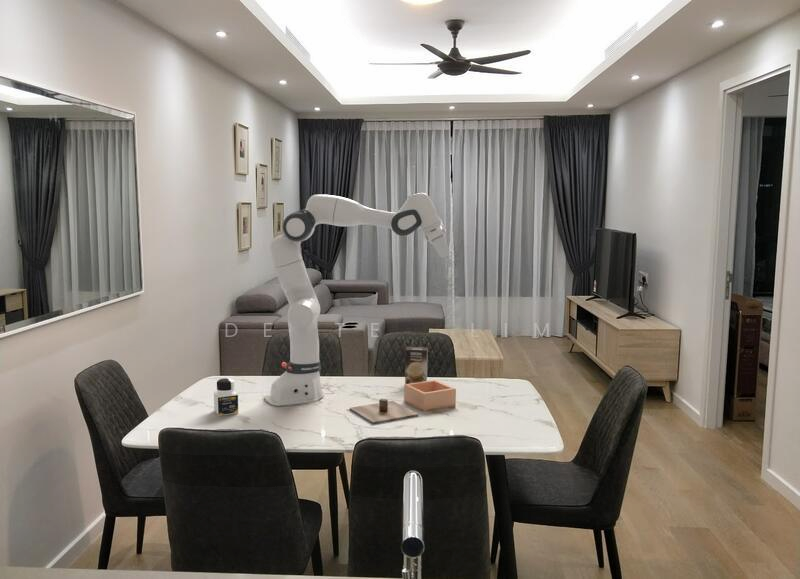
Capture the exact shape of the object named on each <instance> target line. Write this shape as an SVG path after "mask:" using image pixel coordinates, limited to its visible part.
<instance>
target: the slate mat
mask: <svg viewBox="0 0 800 579" xmlns="http://www.w3.org/2000/svg"><path fill="white" fill-rule="evenodd" d="M346 411H347V412H349V413H351V414H352V415H353V416H355V417H357V418H358V419H360V420H361V421H363V422H365V423H366V424H368V425H369V426H372V427H373V426H379V425H384V424H390V423H396V422H400V421H406V420H412V419H418V418H421V417H422V416H421V415H420V414H418V416H417V417H411V418H406V419H400V420H395V421H389V422H384V423H378V424H372V423H370V422H368V421H367V420H365V419H364V418H362V417H360V416H359V415H357V414H355V413H354V412H352V411H351V410H350V408H348V409H347V408H346ZM422 418H423V417H422Z"/></svg>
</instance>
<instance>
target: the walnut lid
mask: <svg viewBox="0 0 800 579" xmlns="http://www.w3.org/2000/svg"><path fill="white" fill-rule="evenodd" d="M349 409H350V410H351V411H352V412H354V413H355V414H357V415H359V416H360V417H362V418H364V419H365V420H367V421H368V422H370V423H372V424H378V423H384V422H389V421H395V420H400V419H406V418H411V417H417V416H418V415H419V413H417V412H415V411H413V410H411V409H410V408H407V407H405V406H404V405H401V404H400V403H398V402H396V401H394V400H390V401H389V400H388V399H387V398H380V399H379V400H378V402H377V403H373V404H372V403H370V404H364V405H360V406H354V407H353V406H352V407H349Z"/></svg>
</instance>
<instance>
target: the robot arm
mask: <svg viewBox="0 0 800 579" xmlns="http://www.w3.org/2000/svg"><path fill="white" fill-rule="evenodd" d="M320 224H324V225H331V226H336V227H355V226H361V225H366V226H367V225H368V226H375V227H381V228H386V229H390V230H391V231H392V232H393V233H395V234H396V235H398V236H400V237H408V236H410V235H412V234H413V233H414V232H415V231H417V229H419V230H420V233H421V235H422V236H423V240H424V241H425V242H429V243H430V245H431V244H432V245H433V247H434V249H435V250H436V252H437V254H438V255H439V256H440V258H442V259H443V260H444V261H445V262H446V265H447V266H448V267H449V268H451V267H452V266H454V265H453V261H452V260H451V258H450V255H451V252H450V248H449V246H448V243H447V241H446V240H447V239H446V235H445V233H446V232H447V229H446V227H445V225H444V223H443V221H442V218H441V217H439V215H438V212H437V208H436V206H435V204H434V203H433V201H432V199H431V198H430V196H429V195H428V194H427V193H425V192H418V193H415V194H412V195H408V196H407V198H406V200H405V201H404V203H403V204H402V206H401V207H400V208H399V209H398V210H397V211H386V210H381V209H374V208H370V207H368V206H365V205H363V204H361V203H360V202H357V201H355V200H354V199H353V200H352V199H350V198H347V197H343V196H338V195H332V194H331V195H330V194H313V195H311V196H309V199H308V200H307V203H306V206H305V208H303V209H300V210H298V211H294V212H292V213H290V214H288V215H286V216H285V218H284V219H283V222H282V232H283V233H282V234H280V235H277V236H276V237H274V238H273V239H272V240H271V241H270V245H269V246H270V254H271V259H272V264H273V267H274V270H275V273H276V276H277V279H278V282H279V285H280V289H282V291H283V293H284V295H285V297H286V300H287V302H288V304H289V307H288V310H287V325H288V327H287V328H288V333H289V334H288V335H289V347H290V352H289V353H290V356H289V357H290V360H289V361H288V362H285V361H282V362H281V367H282V368H284V369H285V371H284V372H283V373H282V374H280V376H279V377H278V378H276V379H275V380H273V382H272V383H271V387H270V392H269V393H268V394H265V395H264V400H265V401H266V402H267V403H268V404H270V405H272V406H278V407H279V406H280V407H282V406H292V405H303V404H311V403H317V402H318V401H319V400H321V399H322V398H324V392H323V389H322V384H321V383H322V382H321V376H320V375H321V369H322V368H321V360H320V339H319V338H320V337H319V329H318V319H319V317H320V314H321V305H320V302H319V299H318V297H317V295H316V292H315V289H314V287H313V284H312V283H311V280H310V277H309V275H308V271H307V269H306V265H305V262H304V260H303V256H302V253H301V248H300V247H301V246H300V245H301V244H302V243H303V242H304V241H306V240H309V238H310V237H312V236H313V235H314V233H315V232H316V228H317V225H320Z"/></svg>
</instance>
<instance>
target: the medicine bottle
mask: <svg viewBox="0 0 800 579" xmlns="http://www.w3.org/2000/svg"><path fill="white" fill-rule="evenodd" d="M238 394H239V393H237V392H236V391H235V380H234V379H233V378H229V377H227V378H226V377H225V378H220V379H219V380H216V391H213V405H214V406H213V410H214V412H215V413H216V415H217V416H219V417H221V416H228V415H235V414H236V415H237V414H239V395H238Z"/></svg>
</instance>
